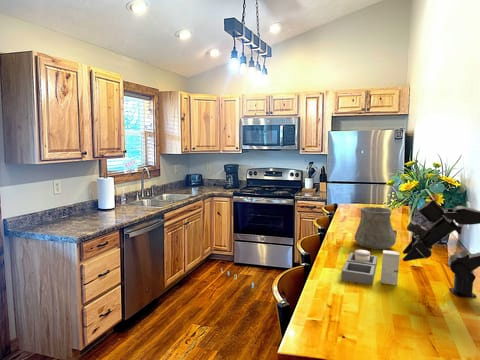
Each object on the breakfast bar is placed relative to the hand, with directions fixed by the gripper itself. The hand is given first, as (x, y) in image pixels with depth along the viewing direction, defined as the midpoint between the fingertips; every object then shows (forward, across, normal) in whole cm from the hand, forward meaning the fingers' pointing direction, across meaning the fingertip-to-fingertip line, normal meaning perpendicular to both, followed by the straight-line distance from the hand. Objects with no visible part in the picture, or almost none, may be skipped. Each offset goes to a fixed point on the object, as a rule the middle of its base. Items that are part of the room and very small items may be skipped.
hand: (403, 256), depth 136 cm
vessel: (+18, -47, -2) cm, 50 cm away
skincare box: (+11, 0, +5) cm, 12 cm away
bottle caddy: (+19, -7, -4) cm, 20 cm away
